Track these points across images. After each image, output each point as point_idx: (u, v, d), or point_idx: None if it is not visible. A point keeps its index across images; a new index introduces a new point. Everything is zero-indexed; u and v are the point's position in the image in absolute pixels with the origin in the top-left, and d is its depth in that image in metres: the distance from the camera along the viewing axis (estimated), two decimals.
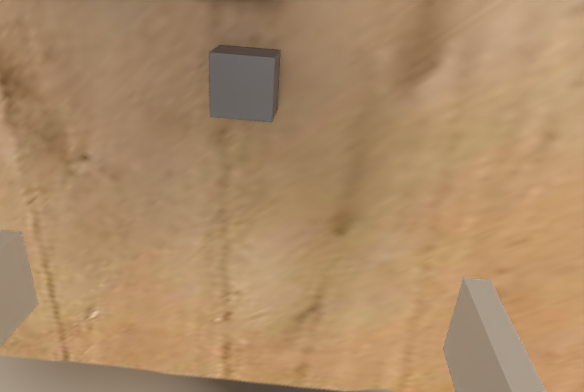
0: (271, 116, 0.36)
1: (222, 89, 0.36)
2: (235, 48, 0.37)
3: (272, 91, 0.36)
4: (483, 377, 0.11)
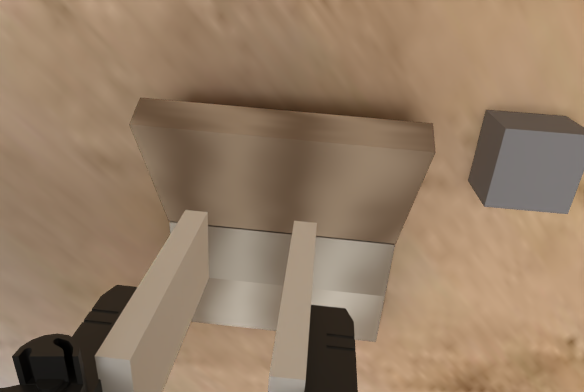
0: None
1: (533, 196, 0.28)
2: (477, 167, 0.30)
3: (551, 133, 0.26)
4: None
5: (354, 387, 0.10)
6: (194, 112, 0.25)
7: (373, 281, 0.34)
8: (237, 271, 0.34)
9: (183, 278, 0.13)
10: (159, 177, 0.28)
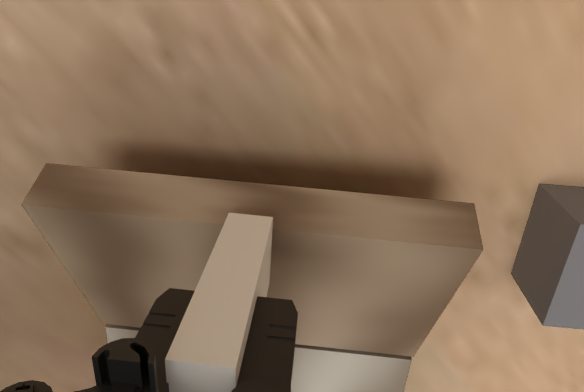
0: None
1: None
2: (527, 261, 0.22)
3: None
4: None
5: (288, 375, 0.10)
6: (122, 185, 0.17)
7: None
8: None
9: None
10: (80, 273, 0.20)
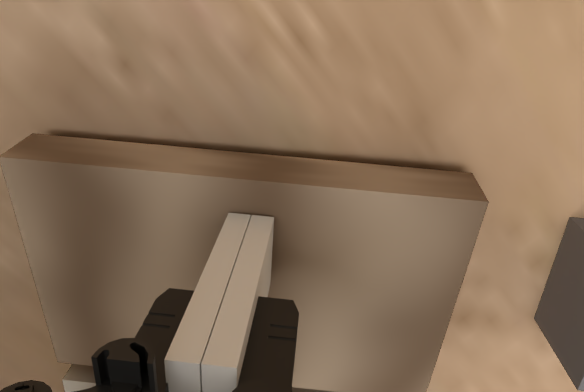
0: None
1: None
2: (555, 307, 0.18)
3: None
4: None
5: (289, 375, 0.10)
6: (109, 149, 0.16)
7: None
8: None
9: None
10: (44, 269, 0.17)
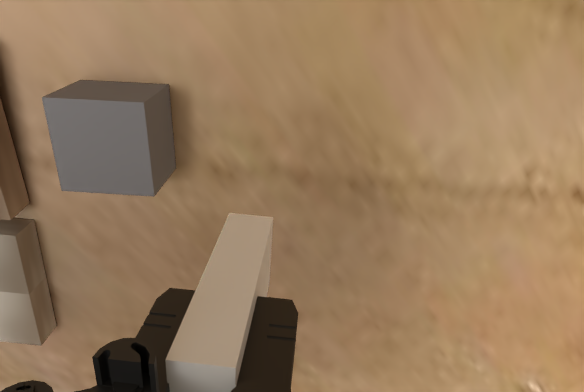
0: (135, 103, 0.22)
1: (108, 176, 0.24)
2: None
3: (94, 101, 0.22)
4: None
5: (288, 375, 0.10)
6: None
7: (10, 277, 0.30)
8: None
9: None
10: None
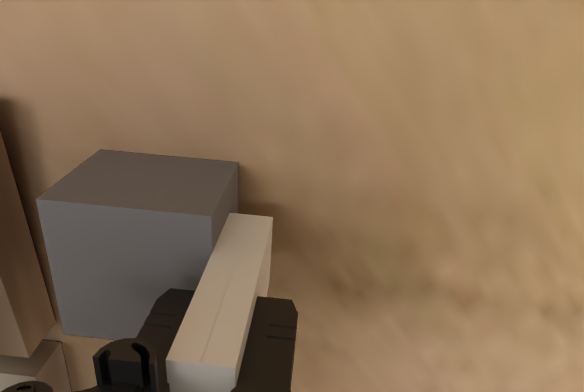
0: (196, 215, 0.13)
1: (141, 319, 0.15)
2: None
3: (125, 209, 0.13)
4: None
5: (288, 375, 0.10)
6: None
7: None
8: None
9: None
10: None
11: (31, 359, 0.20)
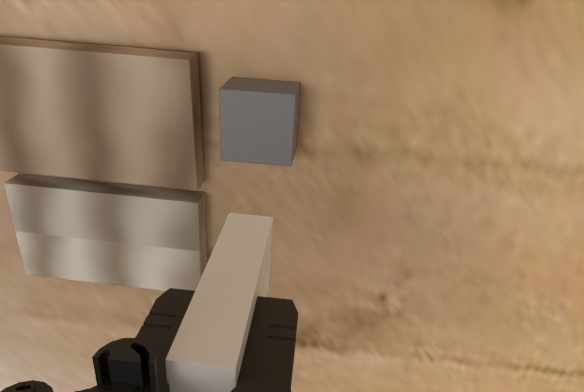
0: (288, 95, 0.30)
1: (258, 150, 0.32)
2: None
3: (257, 93, 0.30)
4: None
5: (288, 375, 0.10)
6: (15, 40, 0.32)
7: (187, 237, 0.38)
8: (69, 228, 0.38)
9: None
10: None
11: (192, 197, 0.37)
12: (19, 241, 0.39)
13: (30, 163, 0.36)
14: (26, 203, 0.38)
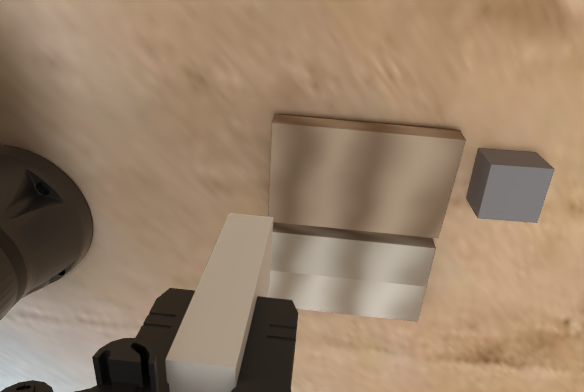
0: (548, 169, 0.37)
1: (512, 210, 0.39)
2: (472, 189, 0.41)
3: (523, 167, 0.37)
4: None
5: (288, 375, 0.10)
6: (310, 120, 0.39)
7: (418, 275, 0.45)
8: (315, 268, 0.45)
9: None
10: (276, 172, 0.41)
11: (427, 242, 0.44)
12: None
13: (297, 216, 0.43)
14: (282, 247, 0.45)
